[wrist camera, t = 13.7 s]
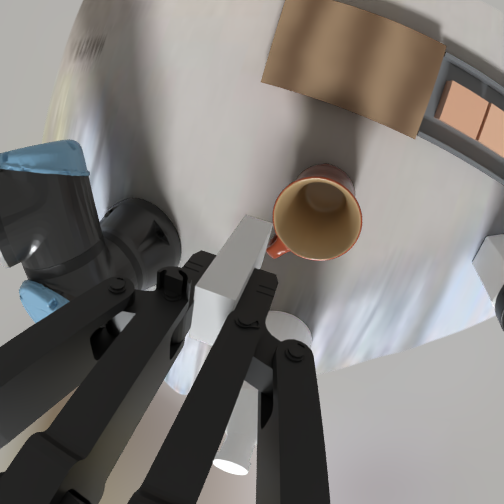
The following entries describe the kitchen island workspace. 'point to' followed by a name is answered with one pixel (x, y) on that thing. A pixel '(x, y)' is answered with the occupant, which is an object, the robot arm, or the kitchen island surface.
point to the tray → (451, 137)
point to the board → (355, 62)
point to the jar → (492, 272)
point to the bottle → (254, 402)
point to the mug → (316, 215)
